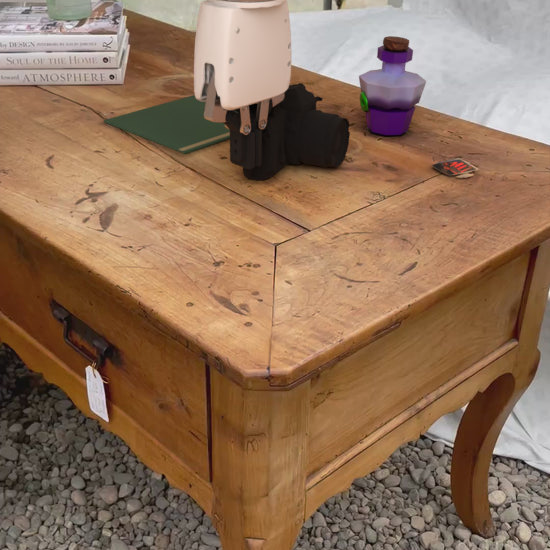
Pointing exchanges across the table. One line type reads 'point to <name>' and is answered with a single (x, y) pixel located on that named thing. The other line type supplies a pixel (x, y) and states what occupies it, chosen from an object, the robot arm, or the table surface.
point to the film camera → (300, 135)
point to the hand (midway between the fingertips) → (245, 164)
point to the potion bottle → (391, 90)
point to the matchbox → (455, 167)
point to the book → (174, 125)
